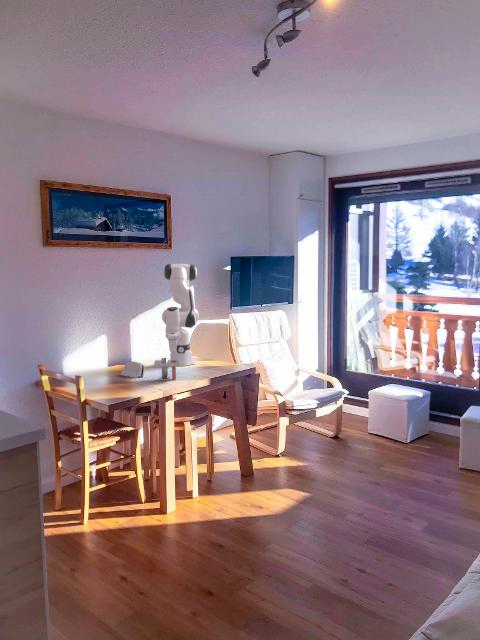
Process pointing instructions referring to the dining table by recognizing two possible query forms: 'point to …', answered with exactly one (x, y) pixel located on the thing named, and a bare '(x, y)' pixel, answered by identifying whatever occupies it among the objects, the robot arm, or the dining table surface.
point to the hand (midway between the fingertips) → (173, 356)
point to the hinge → (133, 369)
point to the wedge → (174, 371)
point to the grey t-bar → (165, 367)
